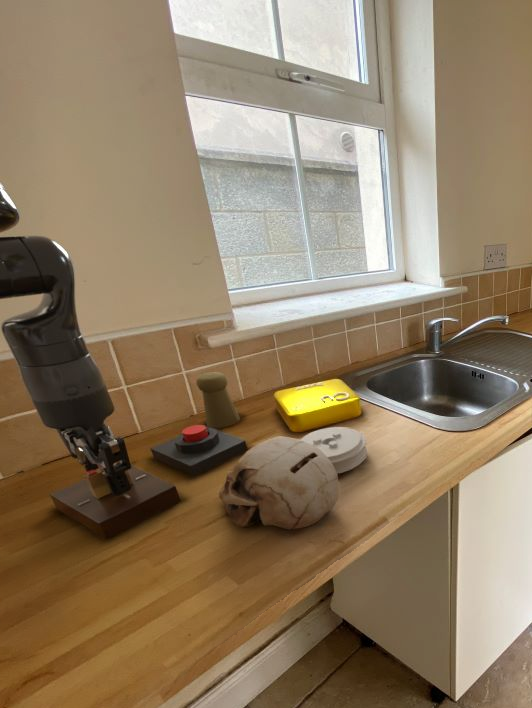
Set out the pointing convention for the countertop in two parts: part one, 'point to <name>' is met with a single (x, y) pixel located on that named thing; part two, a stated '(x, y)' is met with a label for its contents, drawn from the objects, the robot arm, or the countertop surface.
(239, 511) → the coin bank
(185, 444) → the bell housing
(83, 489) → the plate
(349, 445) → the lid
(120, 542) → the countertop surface
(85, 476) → the lock knob
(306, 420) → the element tile
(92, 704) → the countertop surface
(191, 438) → the bell button
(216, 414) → the cork
